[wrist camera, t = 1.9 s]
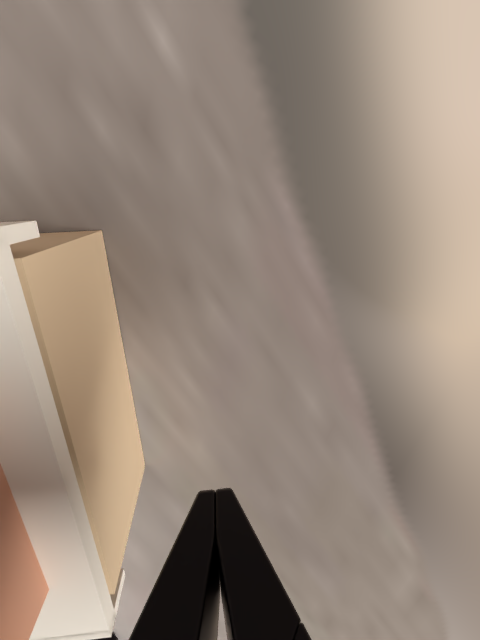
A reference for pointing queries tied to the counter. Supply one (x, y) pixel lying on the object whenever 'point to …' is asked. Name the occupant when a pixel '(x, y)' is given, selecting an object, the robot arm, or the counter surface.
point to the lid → (40, 491)
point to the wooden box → (87, 378)
